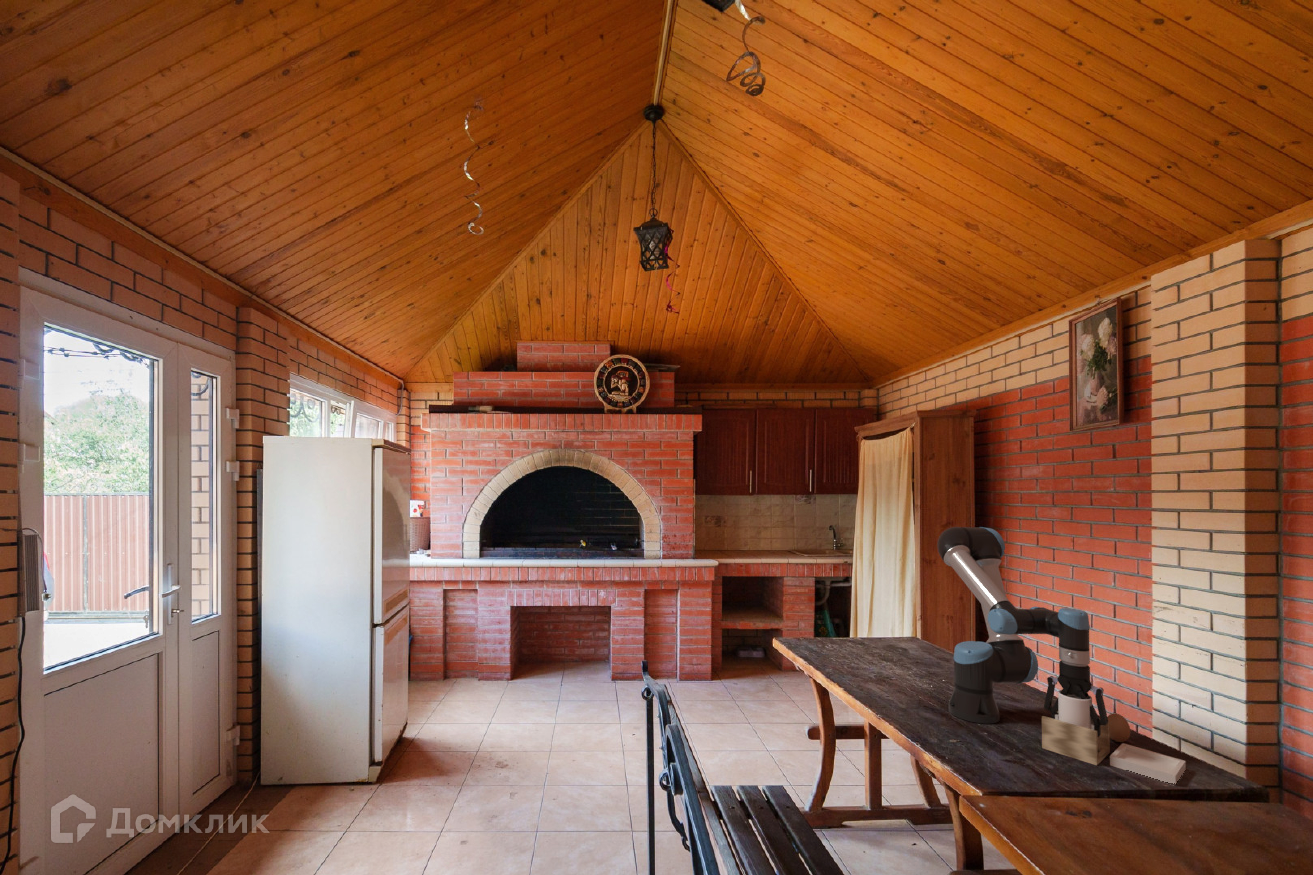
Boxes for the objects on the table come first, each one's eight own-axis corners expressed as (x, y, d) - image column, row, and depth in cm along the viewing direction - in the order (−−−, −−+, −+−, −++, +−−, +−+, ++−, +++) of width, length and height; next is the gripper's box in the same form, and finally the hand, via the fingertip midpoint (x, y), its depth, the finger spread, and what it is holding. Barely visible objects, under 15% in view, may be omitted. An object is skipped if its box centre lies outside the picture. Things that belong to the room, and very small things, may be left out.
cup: (1098, 758, 171) (1097, 700, 172) (1066, 754, 173) (1065, 697, 174) (1084, 745, 179) (1083, 691, 180) (1054, 742, 181) (1053, 688, 182)
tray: (1110, 765, 167) (1109, 755, 167) (1122, 751, 176) (1122, 742, 176) (1175, 785, 156) (1175, 775, 157) (1185, 770, 165) (1185, 760, 166)
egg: (1125, 747, 179) (1124, 719, 180) (1100, 739, 185) (1099, 711, 185) (1134, 743, 182) (1133, 715, 183) (1109, 735, 188) (1109, 708, 189)
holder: (1042, 747, 177) (1041, 716, 178) (1056, 736, 186) (1056, 706, 186) (1096, 765, 167) (1096, 732, 167) (1109, 752, 175) (1109, 720, 176)
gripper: (1030, 656, 183) (1031, 732, 182) (1114, 674, 168) (1116, 758, 166) (1038, 652, 188) (1039, 726, 187) (1121, 669, 172) (1123, 751, 171)
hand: (1075, 741), depth 176 cm, fingers closed on cup, 8 cm apart
